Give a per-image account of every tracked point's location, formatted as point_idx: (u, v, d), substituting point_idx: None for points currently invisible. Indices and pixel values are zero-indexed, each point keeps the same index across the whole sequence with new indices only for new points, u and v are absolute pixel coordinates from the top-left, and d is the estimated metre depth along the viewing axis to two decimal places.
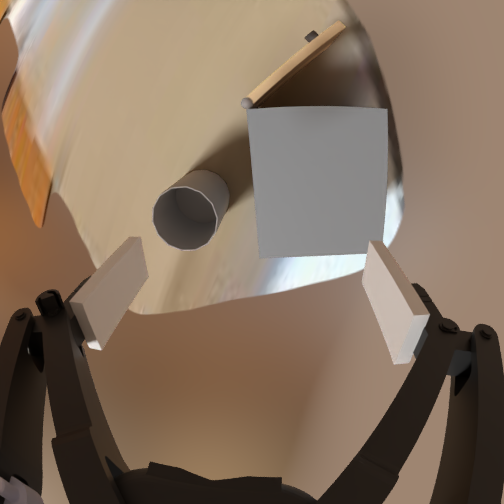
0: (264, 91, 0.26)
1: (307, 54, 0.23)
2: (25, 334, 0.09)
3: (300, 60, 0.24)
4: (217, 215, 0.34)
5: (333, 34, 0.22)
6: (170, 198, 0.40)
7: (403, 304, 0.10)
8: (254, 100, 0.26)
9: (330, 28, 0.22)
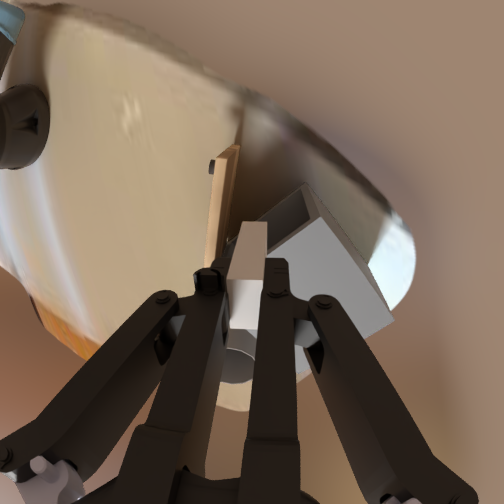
0: None
1: (217, 216, 0.27)
2: (158, 323, 0.10)
3: (216, 226, 0.28)
4: (251, 354, 0.39)
5: (222, 178, 0.26)
6: None
7: None
8: None
9: (215, 173, 0.26)
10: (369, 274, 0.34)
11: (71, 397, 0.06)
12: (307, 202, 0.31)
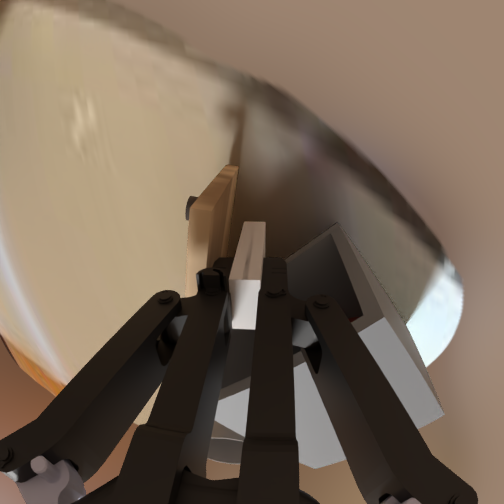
0: None
1: None
2: (160, 324, 0.10)
3: None
4: None
5: (205, 246, 0.14)
6: None
7: None
8: None
9: (191, 238, 0.13)
10: (417, 353, 0.22)
11: (72, 397, 0.06)
12: (350, 269, 0.19)
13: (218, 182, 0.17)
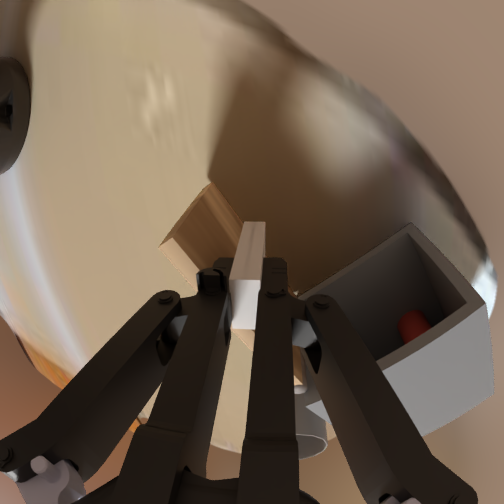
0: None
1: None
2: (160, 324, 0.10)
3: None
4: (322, 436, 0.27)
5: (192, 265, 0.15)
6: None
7: None
8: (298, 382, 0.19)
9: (178, 267, 0.15)
10: None
11: (72, 397, 0.06)
12: (441, 265, 0.19)
13: (189, 209, 0.19)
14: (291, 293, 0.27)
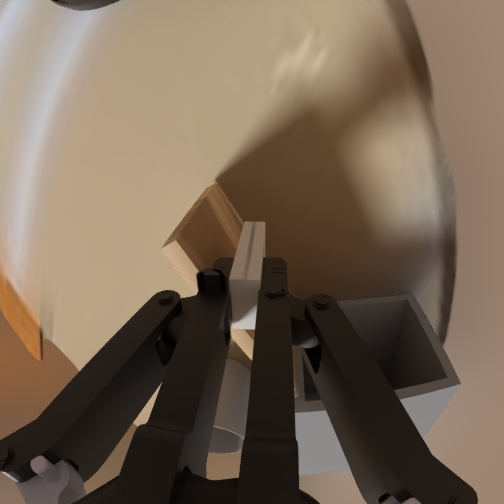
0: None
1: None
2: (161, 324, 0.10)
3: (243, 332, 0.16)
4: None
5: (194, 269, 0.14)
6: None
7: None
8: None
9: (180, 270, 0.15)
10: None
11: (72, 397, 0.06)
12: (432, 340, 0.22)
13: (192, 210, 0.18)
14: None
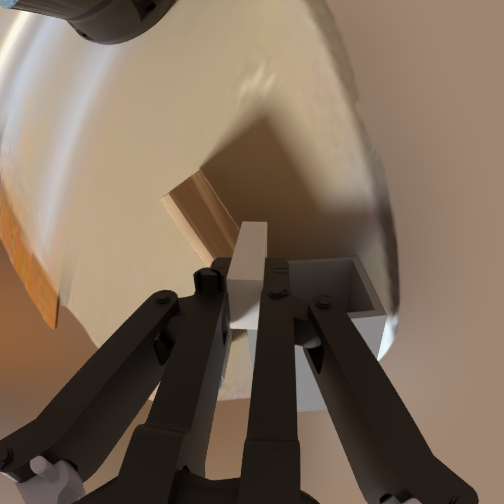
0: None
1: (202, 245, 0.26)
2: (158, 323, 0.10)
3: (208, 254, 0.26)
4: (223, 375, 0.37)
5: (178, 211, 0.24)
6: None
7: None
8: None
9: (170, 212, 0.25)
10: None
11: (71, 397, 0.06)
12: (366, 285, 0.31)
13: None
14: None
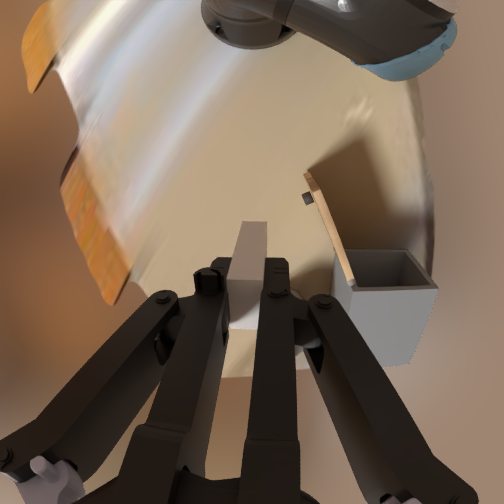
0: (349, 269, 0.37)
1: (335, 230, 0.35)
2: (158, 323, 0.10)
3: (338, 237, 0.35)
4: None
5: (324, 203, 0.33)
6: None
7: None
8: (352, 277, 0.37)
9: (318, 203, 0.33)
10: None
11: (71, 397, 0.06)
12: (420, 269, 0.41)
13: (310, 181, 0.37)
14: None
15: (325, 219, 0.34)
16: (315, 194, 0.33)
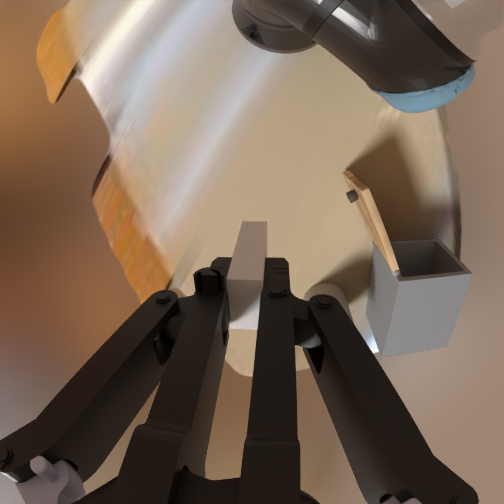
0: (395, 260, 0.37)
1: (382, 225, 0.35)
2: (158, 323, 0.10)
3: (385, 231, 0.36)
4: None
5: (372, 200, 0.34)
6: None
7: None
8: (397, 268, 0.38)
9: (367, 201, 0.34)
10: None
11: (71, 397, 0.06)
12: (453, 257, 0.41)
13: (354, 180, 0.38)
14: None
15: (373, 215, 0.35)
16: (364, 193, 0.34)
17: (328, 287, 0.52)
